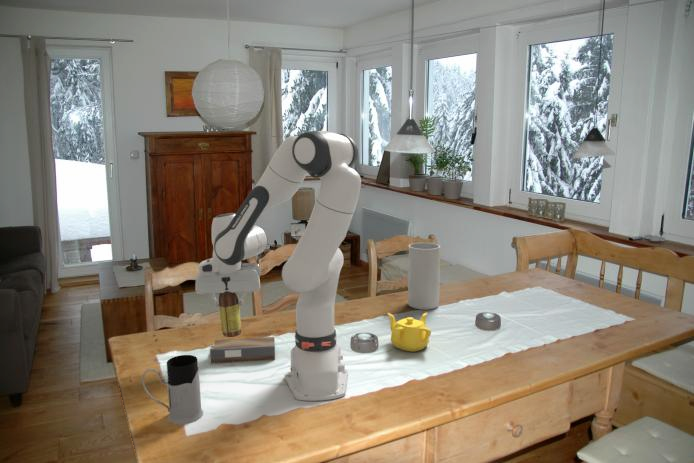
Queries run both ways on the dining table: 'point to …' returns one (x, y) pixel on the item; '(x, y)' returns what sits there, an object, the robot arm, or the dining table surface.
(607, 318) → the dining table surface
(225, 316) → the sauce bottle
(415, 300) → the cylinder vase
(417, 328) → the teapot
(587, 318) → the dining table surface
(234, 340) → the book
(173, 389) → the grey mug
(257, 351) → the price rail
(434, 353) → the dining table surface
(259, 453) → the dining table surface
